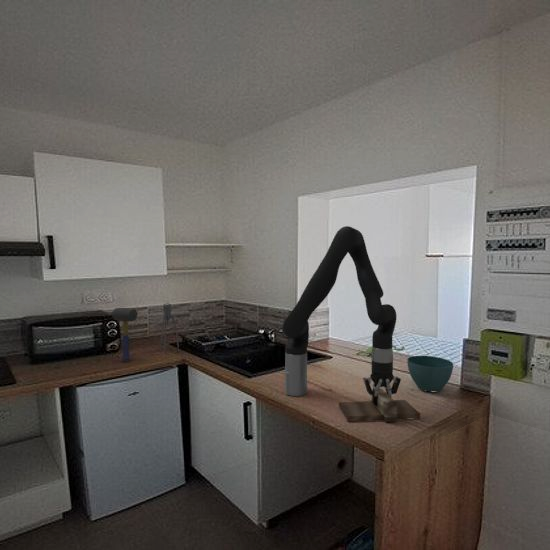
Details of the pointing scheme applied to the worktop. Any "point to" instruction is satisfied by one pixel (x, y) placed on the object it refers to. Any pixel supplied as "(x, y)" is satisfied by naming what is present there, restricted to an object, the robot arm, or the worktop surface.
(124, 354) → the rubber mallet
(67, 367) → the worktop surface
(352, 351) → the worktop surface
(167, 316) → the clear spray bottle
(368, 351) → the figurine
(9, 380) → the worktop surface
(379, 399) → the beige wooden block
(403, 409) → the walnut plank
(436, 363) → the plant pot
